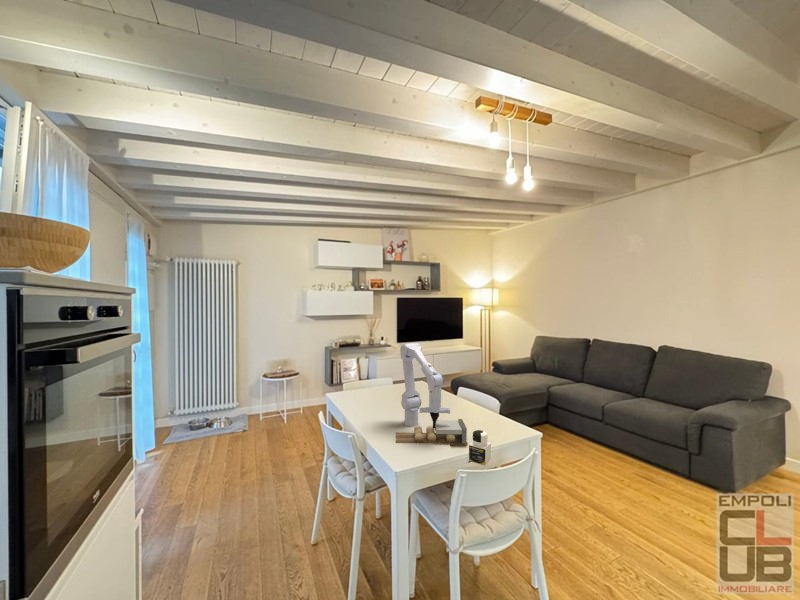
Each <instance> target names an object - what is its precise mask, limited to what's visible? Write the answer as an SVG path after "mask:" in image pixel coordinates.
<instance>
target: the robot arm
mask: <svg viewBox="0 0 800 600" xmlns="http://www.w3.org/2000/svg"><path fill="white" fill-rule="evenodd" d="M399 351H400V359H401V360H402V367H403V378H404V379H403V380H404V387H405V388H404V389H405V391H404V392H403V393H402V394H401V400H400V403H401V407H402V409H403V410H404V425H405V426H407V427H415V426H419V414H424V413H426V414H427V413H429V415H430V418H431V421H432V426H433V429H434V430H435V424H436V421H437V420H439V419H438V418H439V417H440V414H449V415H450V414H451V409H450V408H446V407H442V386H444V384H445V378H444V375H443V374H441V373H439V372H438V371H436V369H435V367H433V364H432V363H430V362H428V360H427V359H426V357H425V356H424V354H423V352H422V346H421V344H420V343H419V342H411V343H402V344H401V346H400V348H399ZM414 359H415V360H416V361H417V363H419V365H420V366H421V369H420V370H421V372H422V373H423V375H424V376H425V378H426V383H427V384H426V385H428V386H427V389H428V391H429V392H428V394H429V395H428V396H429V397H428V406H427V407H421V406H422V399H421V395H420V392H418V391H417V390H416V383H415V376H414V368H413V367H414V365H413V360H414Z"/></svg>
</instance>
